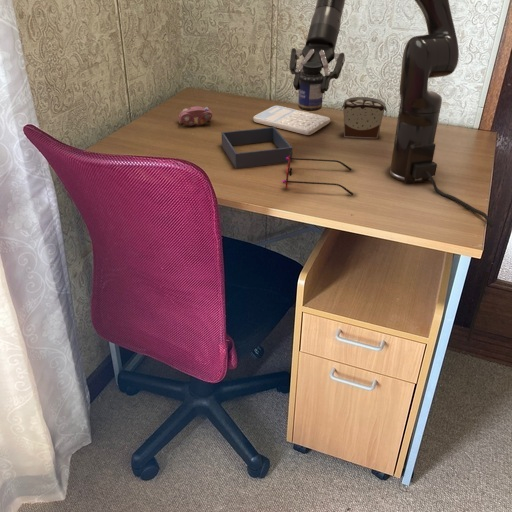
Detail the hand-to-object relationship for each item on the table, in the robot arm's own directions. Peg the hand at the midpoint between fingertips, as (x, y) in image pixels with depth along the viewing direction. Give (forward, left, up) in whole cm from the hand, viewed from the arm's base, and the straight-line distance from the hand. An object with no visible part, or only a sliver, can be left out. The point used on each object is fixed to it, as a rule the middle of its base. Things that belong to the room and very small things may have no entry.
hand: (309, 90), depth 143 cm
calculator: (+23, -4, -17) cm, 29 cm away
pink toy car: (+29, +24, -17) cm, 41 cm away
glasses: (-16, +3, -17) cm, 24 cm away
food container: (+9, -20, -17) cm, 28 cm away
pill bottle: (+1, -1, -5) cm, 6 cm away
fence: (+4, +13, -17) cm, 22 cm away
